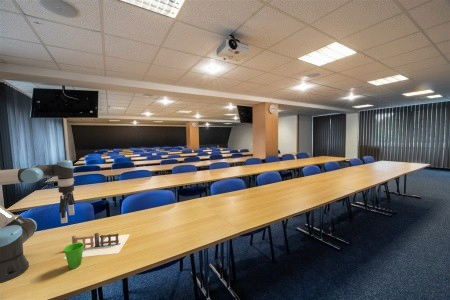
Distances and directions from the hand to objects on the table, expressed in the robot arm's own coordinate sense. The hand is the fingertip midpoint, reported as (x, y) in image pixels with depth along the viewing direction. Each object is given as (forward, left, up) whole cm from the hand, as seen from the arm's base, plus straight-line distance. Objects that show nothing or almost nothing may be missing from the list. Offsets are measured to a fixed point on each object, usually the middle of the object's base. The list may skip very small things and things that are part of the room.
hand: (68, 218), depth 121 cm
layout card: (+1, -17, -20) cm, 27 cm away
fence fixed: (0, -22, -20) cm, 29 cm away
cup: (-19, -13, -20) cm, 30 cm away
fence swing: (0, -8, -20) cm, 21 cm away
